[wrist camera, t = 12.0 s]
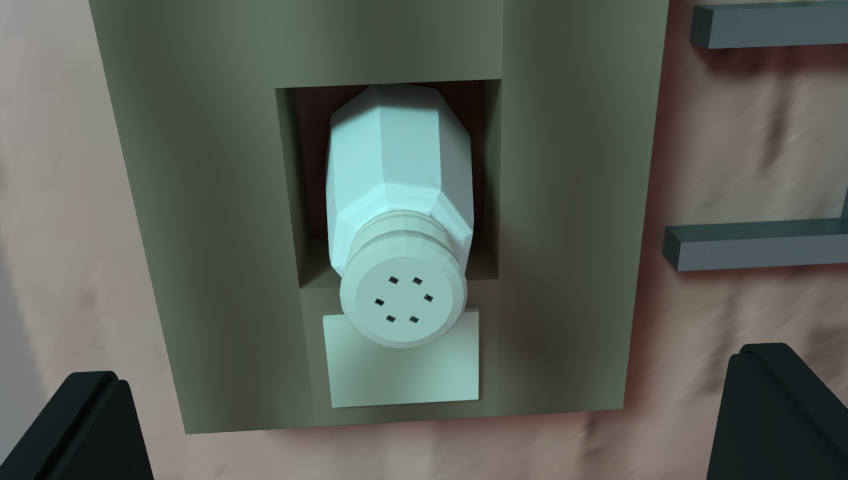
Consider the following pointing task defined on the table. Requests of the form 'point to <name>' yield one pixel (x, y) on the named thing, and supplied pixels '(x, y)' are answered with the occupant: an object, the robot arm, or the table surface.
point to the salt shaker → (399, 213)
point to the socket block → (309, 258)
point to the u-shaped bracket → (773, 238)
